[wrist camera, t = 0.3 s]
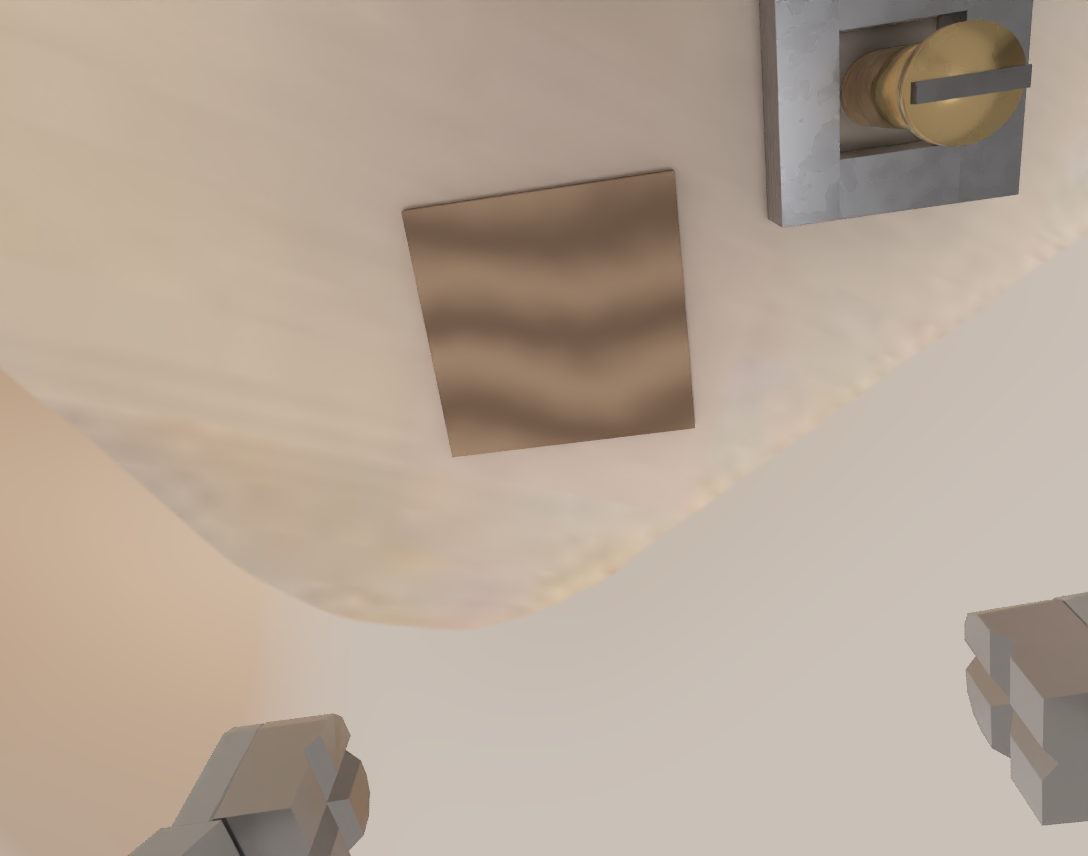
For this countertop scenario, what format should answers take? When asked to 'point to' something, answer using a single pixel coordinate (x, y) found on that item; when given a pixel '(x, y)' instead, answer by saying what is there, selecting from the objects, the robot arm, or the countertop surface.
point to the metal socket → (814, 117)
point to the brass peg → (941, 84)
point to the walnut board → (555, 313)
